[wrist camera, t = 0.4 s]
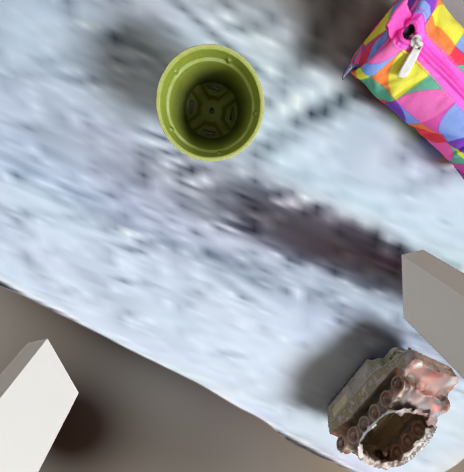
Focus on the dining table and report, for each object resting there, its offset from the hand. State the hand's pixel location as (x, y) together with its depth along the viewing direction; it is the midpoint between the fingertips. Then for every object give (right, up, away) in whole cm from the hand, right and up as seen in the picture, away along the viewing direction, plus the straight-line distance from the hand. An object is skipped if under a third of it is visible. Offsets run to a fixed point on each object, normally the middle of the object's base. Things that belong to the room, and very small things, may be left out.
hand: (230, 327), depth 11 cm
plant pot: (-2, +18, +23) cm, 29 cm away
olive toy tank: (+22, -19, +38) cm, 48 cm away
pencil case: (+22, +20, +24) cm, 38 cm away
